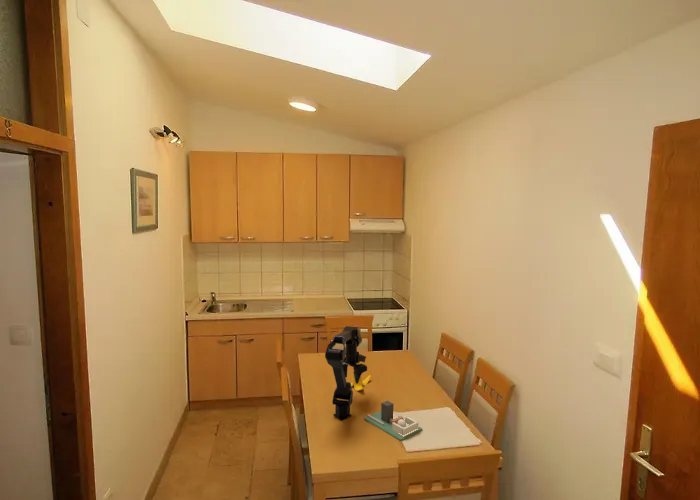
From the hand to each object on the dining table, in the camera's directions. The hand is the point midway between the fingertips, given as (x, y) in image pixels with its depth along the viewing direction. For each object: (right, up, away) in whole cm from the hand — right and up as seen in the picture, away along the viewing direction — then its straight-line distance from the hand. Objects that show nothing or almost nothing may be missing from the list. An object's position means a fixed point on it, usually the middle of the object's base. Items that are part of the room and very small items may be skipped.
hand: (351, 380), depth 213 cm
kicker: (+18, -13, -20) cm, 30 cm away
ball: (+23, -12, -25) cm, 36 cm away
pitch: (+19, -14, -21) cm, 31 cm away
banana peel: (+5, -10, +23) cm, 26 cm away
